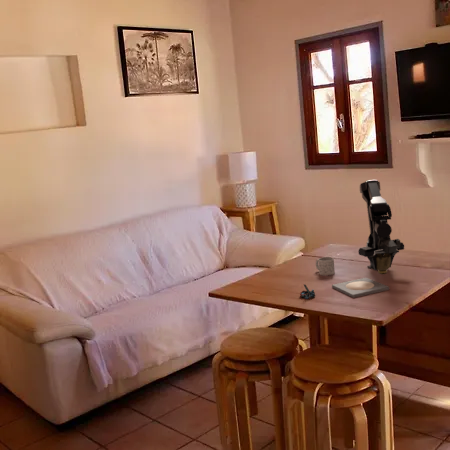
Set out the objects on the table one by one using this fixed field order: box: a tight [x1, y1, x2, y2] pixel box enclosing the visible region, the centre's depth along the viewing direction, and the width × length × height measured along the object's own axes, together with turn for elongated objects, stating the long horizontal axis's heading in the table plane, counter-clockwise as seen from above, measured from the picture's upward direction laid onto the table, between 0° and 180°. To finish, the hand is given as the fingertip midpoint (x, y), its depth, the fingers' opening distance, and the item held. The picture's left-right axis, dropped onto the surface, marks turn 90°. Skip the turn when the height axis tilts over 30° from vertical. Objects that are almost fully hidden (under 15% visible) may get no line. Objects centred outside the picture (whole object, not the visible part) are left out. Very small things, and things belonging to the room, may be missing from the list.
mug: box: [315, 256, 336, 277], centre depth 259 cm, size 10×7×7 cm
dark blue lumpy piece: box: [299, 284, 316, 301], centre depth 229 cm, size 8×7×8 cm
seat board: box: [331, 277, 390, 299], centre depth 232 cm, size 16×16×1 cm
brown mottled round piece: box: [375, 253, 391, 275], centre depth 243 cm, size 8×7×8 cm
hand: (382, 268), depth 244 cm, fingers closed on brown mottled round piece, 6 cm apart
